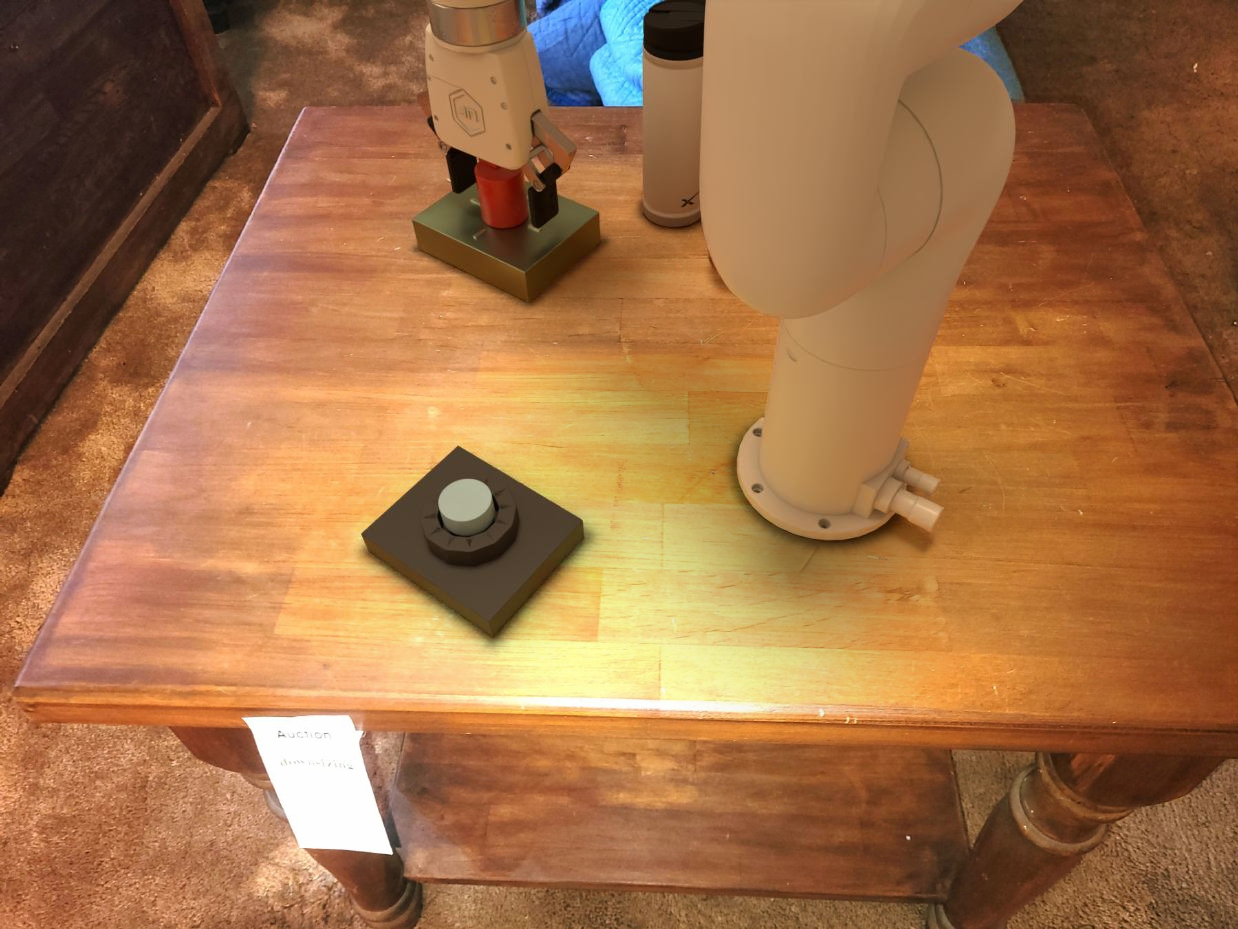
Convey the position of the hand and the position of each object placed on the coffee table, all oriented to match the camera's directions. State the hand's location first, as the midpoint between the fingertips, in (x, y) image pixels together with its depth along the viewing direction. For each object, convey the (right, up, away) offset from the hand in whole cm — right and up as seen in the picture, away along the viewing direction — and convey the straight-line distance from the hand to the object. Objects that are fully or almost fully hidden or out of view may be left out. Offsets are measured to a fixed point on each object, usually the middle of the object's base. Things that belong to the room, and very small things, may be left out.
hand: (505, 203), depth 81 cm
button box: (0, -30, -18) cm, 35 cm away
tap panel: (0, -3, +4) cm, 5 cm away
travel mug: (+16, +1, +7) cm, 18 cm away
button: (0, -28, -21) cm, 35 cm away
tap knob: (0, -1, +1) cm, 1 cm away
